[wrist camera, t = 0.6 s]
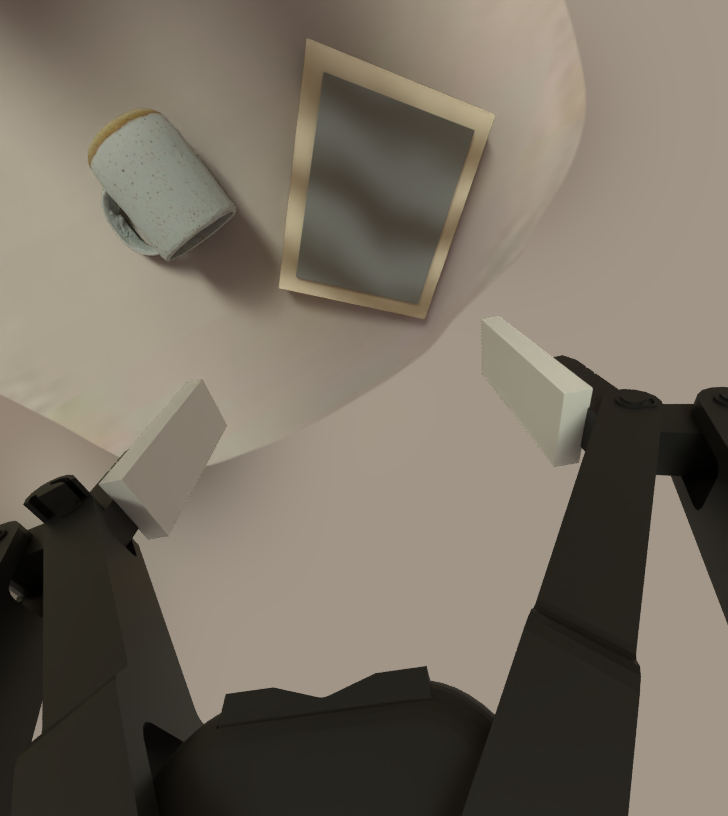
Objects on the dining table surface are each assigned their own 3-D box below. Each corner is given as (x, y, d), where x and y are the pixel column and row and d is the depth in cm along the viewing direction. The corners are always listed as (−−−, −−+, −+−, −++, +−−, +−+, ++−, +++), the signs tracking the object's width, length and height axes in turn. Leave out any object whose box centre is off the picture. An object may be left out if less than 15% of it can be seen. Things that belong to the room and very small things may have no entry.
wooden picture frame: (306, 50, 26) (306, 35, 24) (482, 120, 30) (497, 113, 28) (280, 282, 35) (278, 289, 33) (418, 312, 39) (425, 320, 37)
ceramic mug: (172, 109, 27) (129, 86, 21) (245, 208, 31) (228, 213, 25) (86, 193, 29) (23, 195, 23) (165, 275, 33) (131, 295, 27)
